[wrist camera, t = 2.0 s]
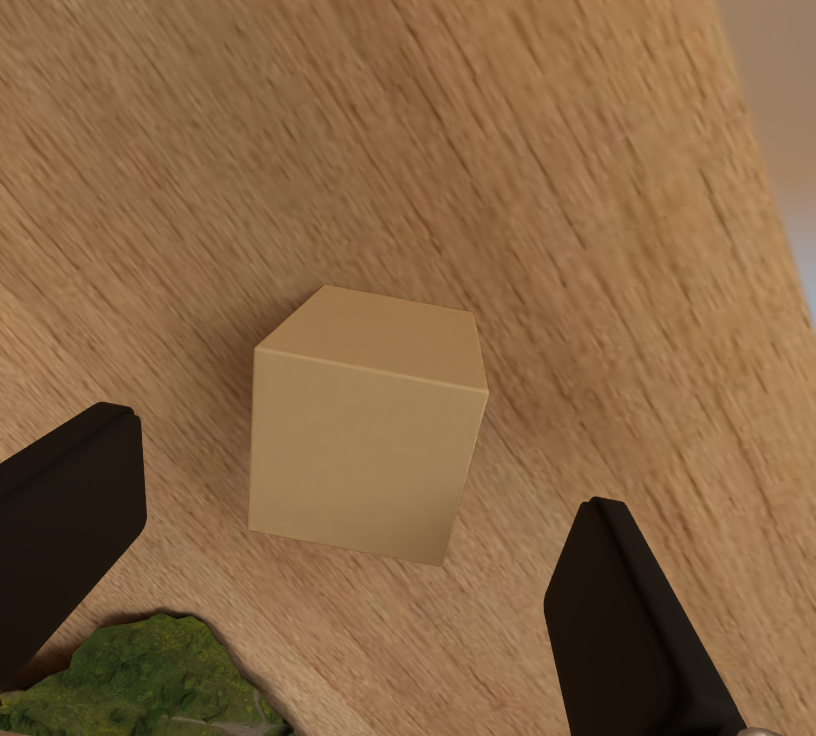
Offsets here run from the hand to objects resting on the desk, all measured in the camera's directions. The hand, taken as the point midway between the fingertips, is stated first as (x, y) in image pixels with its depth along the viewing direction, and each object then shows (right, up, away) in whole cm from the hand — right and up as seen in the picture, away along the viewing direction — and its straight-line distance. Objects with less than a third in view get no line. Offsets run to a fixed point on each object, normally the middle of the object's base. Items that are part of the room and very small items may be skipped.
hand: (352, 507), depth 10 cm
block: (0, +3, +6) cm, 7 cm away
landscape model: (-15, -18, +16) cm, 28 cm away
